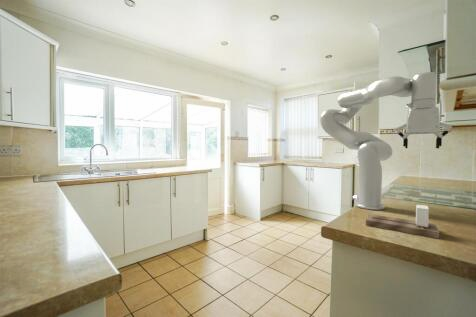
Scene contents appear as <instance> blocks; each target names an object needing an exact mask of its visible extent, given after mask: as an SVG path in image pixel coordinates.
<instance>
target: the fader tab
mask: <svg viewBox="0 0 476 317" xmlns="http://www.w3.org/2000/svg"><path fill="white" fill-rule="evenodd" d="M415 208H416V209H415V221H416V225H417V226H424V227H428V223H429V213H430V211H429V209H430V208H429V206H428V205H425V204H424V205H423V204H416V205H415Z"/></svg>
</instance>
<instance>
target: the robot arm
mask: <svg viewBox="0 0 476 317" xmlns="http://www.w3.org/2000/svg"><path fill="white" fill-rule="evenodd" d="M437 80H438V78H437V74H436V72H434V71H433V72H432V71H426V72H421V73H417V74H415V75H414V76H413V77H412V78H408V77H407V78H406V77H402V76H399V75H397V76H390V77H386V78H383V79H379V80H376V81H373V82H372V83H370V84H368V85H367V86H363V87H360V88H357V89H353V90H348V91H345V92H341V94H340V95H339V96H338V98H337V104H338V105H339V107H341V108H342V109H341V110H340V109H336V108H335V109H326V110H324V111H323V112H322V113H321V115H320V125H321V128H322V129H323V131H324V132H325V133H326V134H327V135H329V136H331V137H332V138H334V140H337V141H338V142H339V143H341V144H342V145H343V146H345V147H346V148H347V149H349V150H355V151H356V150H357V158H358V166H359V167H358V195H357V194H354V195H353V196H352V199H353V200H356V201H355V203H354V205H355V207H358V208H360V209H365V210H374V211H381V210H384V209H385V208H386V205H385V204H382V184H383V183H382V182H383V168H382V164H381V162H383V161H387V160H388V159H390V158H391V157H392V156H393V149H392V146H391V145H390V144H389V143H388V142H386V141H384V140H382V139H381V138H379V137H377V136H375V135H374V134H372V133H370V132H366V131H357V130H353V129H352V128H349V126H348V127H347V124H348V123H350V122H351V120H352V119H353V118H354V117H355V115H357V114H358V112H359V111H360V110H361V109H362V108H363V106H367V105H370V104H372V103H373V102H374V101H375V99H378V98H383V97H387V96H394V97H399V98H408V97H410V98H411V102H410V103H407V104H406V108H409V109H408V111H407V115H406V116H407V117H406V122H405V124H402V125H401V126H399V127H396V128H395V131H396V133H397V135H399V137H401V138H402V139H403V145H402V146H403V147H404V148H405V149H408V146H409V145H408V144H409V143H408V142H409V141H408V140H409V139H408V137H409V136H410V135H424V134H425V135H427V134H434V135H435V136H436V138H435V148H436V149H440V147H442V146H443V145H442V142H443V141H442V140H443V137H445V136H447V135H448V134H449V132H450V131H451V129H453V126H452V125H450V124H447V123H444V122H442V121H441V120H440V117H441V116H440V110H439V106H438V107H437V106H436V103H437ZM440 127H442V128H444V131H443V132H440V131H441V130H440V129H441V128H440ZM403 129H405V131H406V133H405V134H404V133H403V132H402V131H401V130H403Z"/></svg>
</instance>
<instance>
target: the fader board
mask: <svg viewBox="0 0 476 317" xmlns="http://www.w3.org/2000/svg"><path fill="white" fill-rule="evenodd" d="M365 226H369V227H373V228H378V229H379V228H380V229H384V230H390V231H395V232H401V233H406V234H412V235H417V236H423V237H429V238H433V239H440V231H439V229H438V227H437V224H435V223H429V222H428V227H424V226H417V225H416V220H409V219H404V218H398V217H391V216H385V215H377V214H371V213H368V215H367V217H366V219H365Z"/></svg>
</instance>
